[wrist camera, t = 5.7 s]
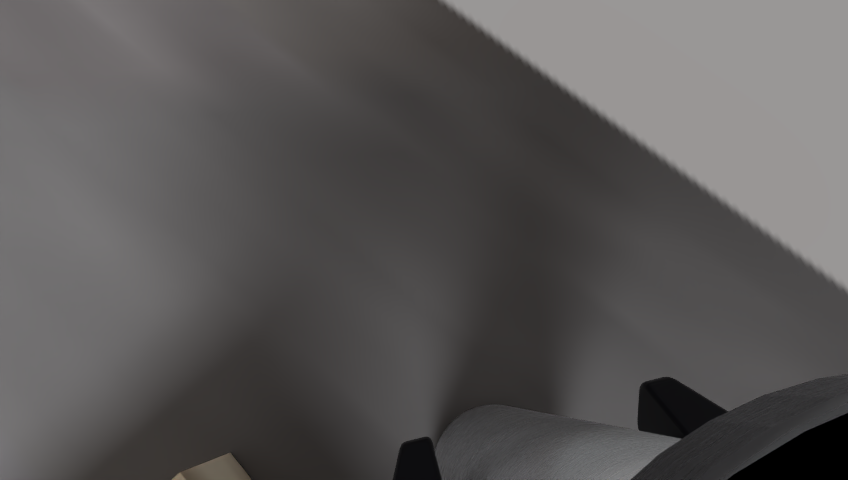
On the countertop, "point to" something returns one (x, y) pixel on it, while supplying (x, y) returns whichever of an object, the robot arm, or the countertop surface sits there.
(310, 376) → the countertop surface
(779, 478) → the steel pin
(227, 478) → the socket block
